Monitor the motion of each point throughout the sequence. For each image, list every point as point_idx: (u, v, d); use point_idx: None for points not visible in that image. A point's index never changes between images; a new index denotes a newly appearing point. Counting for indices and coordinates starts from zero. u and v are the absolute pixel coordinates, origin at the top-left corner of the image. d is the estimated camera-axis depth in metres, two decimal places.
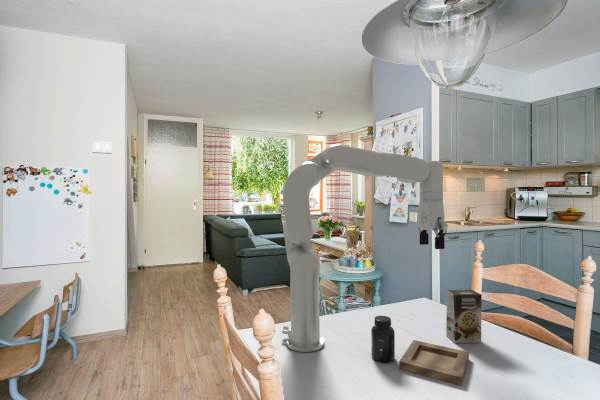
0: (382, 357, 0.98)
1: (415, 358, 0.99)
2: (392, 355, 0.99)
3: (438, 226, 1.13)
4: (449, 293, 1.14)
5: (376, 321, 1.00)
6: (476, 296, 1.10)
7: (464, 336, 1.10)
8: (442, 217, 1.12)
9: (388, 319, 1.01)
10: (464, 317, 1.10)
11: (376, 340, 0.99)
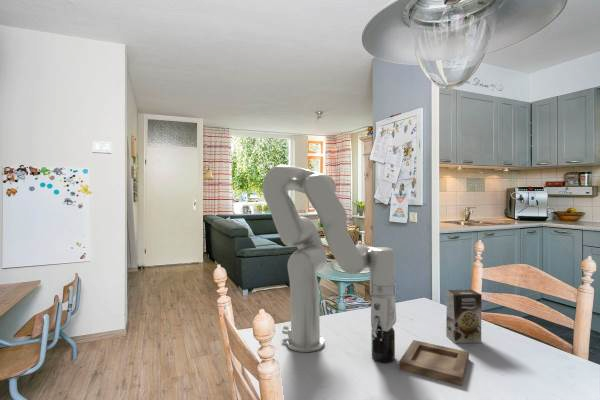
0: (382, 357, 0.98)
1: (415, 358, 0.99)
2: (392, 355, 0.99)
3: None
4: (449, 293, 1.14)
5: None
6: (476, 296, 1.10)
7: (464, 336, 1.10)
8: None
9: None
10: (464, 317, 1.10)
11: None
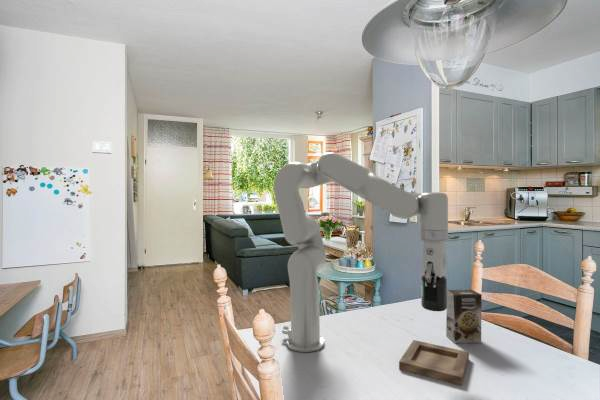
0: (435, 305, 0.94)
1: (415, 358, 0.99)
2: (445, 303, 0.95)
3: None
4: (449, 293, 1.14)
5: None
6: (476, 296, 1.10)
7: (464, 336, 1.10)
8: None
9: None
10: (464, 317, 1.10)
11: None
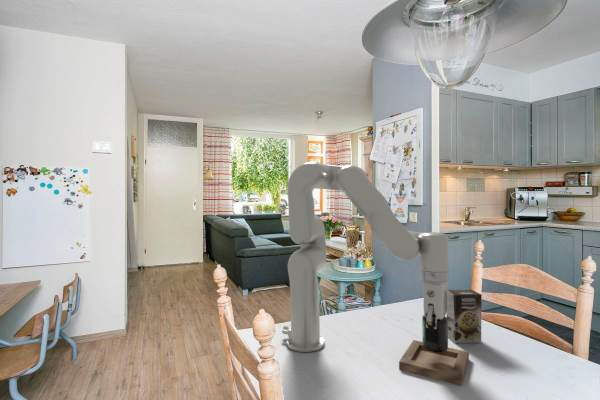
0: (436, 346, 0.94)
1: (415, 358, 0.99)
2: (446, 344, 0.95)
3: None
4: (449, 293, 1.14)
5: None
6: (476, 296, 1.10)
7: (464, 336, 1.10)
8: None
9: None
10: (464, 317, 1.10)
11: None
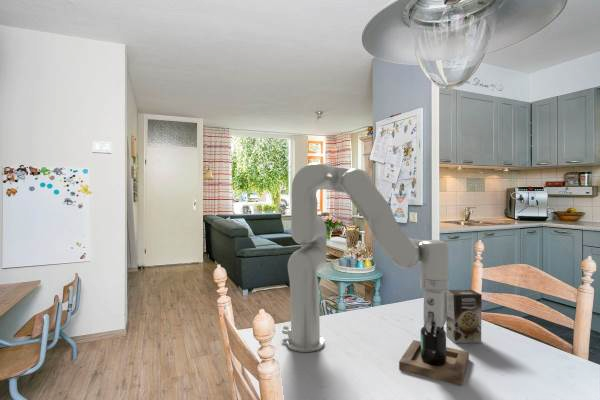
0: (435, 360, 0.94)
1: (415, 358, 0.99)
2: (445, 357, 0.95)
3: None
4: (449, 293, 1.14)
5: None
6: (476, 296, 1.10)
7: (464, 336, 1.10)
8: None
9: None
10: (464, 317, 1.10)
11: None
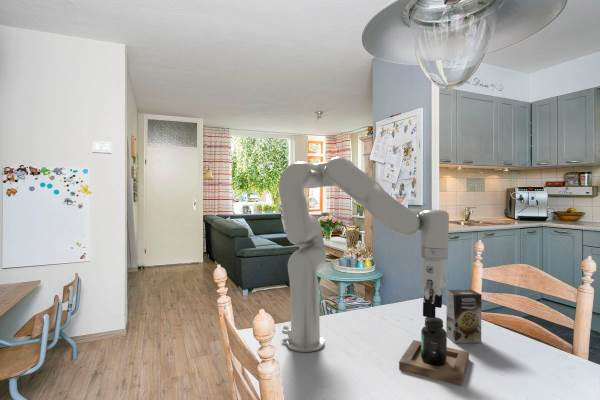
0: (435, 360, 0.94)
1: (415, 358, 0.99)
2: (445, 358, 0.95)
3: None
4: (449, 293, 1.14)
5: (428, 322, 0.96)
6: (476, 296, 1.10)
7: (464, 336, 1.10)
8: None
9: (440, 320, 0.96)
10: (464, 317, 1.10)
11: (428, 342, 0.95)
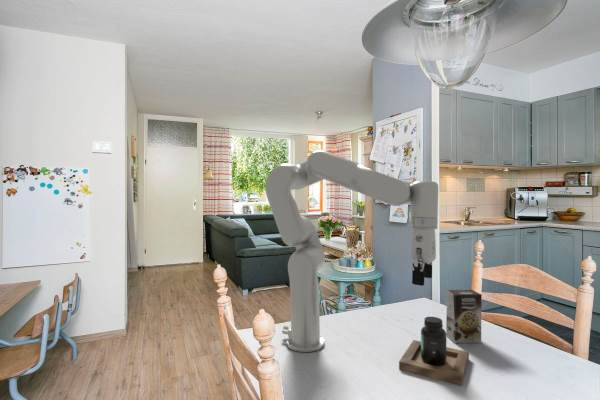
0: (435, 360, 0.94)
1: (415, 358, 0.99)
2: (445, 358, 0.95)
3: None
4: (449, 293, 1.14)
5: (427, 322, 0.96)
6: (476, 296, 1.10)
7: (464, 336, 1.10)
8: None
9: (439, 320, 0.96)
10: (464, 317, 1.10)
11: (428, 342, 0.95)
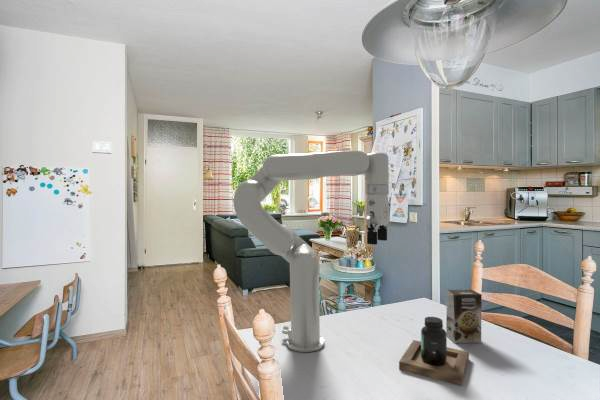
0: (435, 360, 0.94)
1: (415, 358, 0.99)
2: (445, 358, 0.95)
3: None
4: (449, 293, 1.14)
5: (427, 322, 0.96)
6: (476, 296, 1.10)
7: (464, 336, 1.10)
8: None
9: (440, 320, 0.96)
10: (464, 317, 1.10)
11: (428, 342, 0.95)
